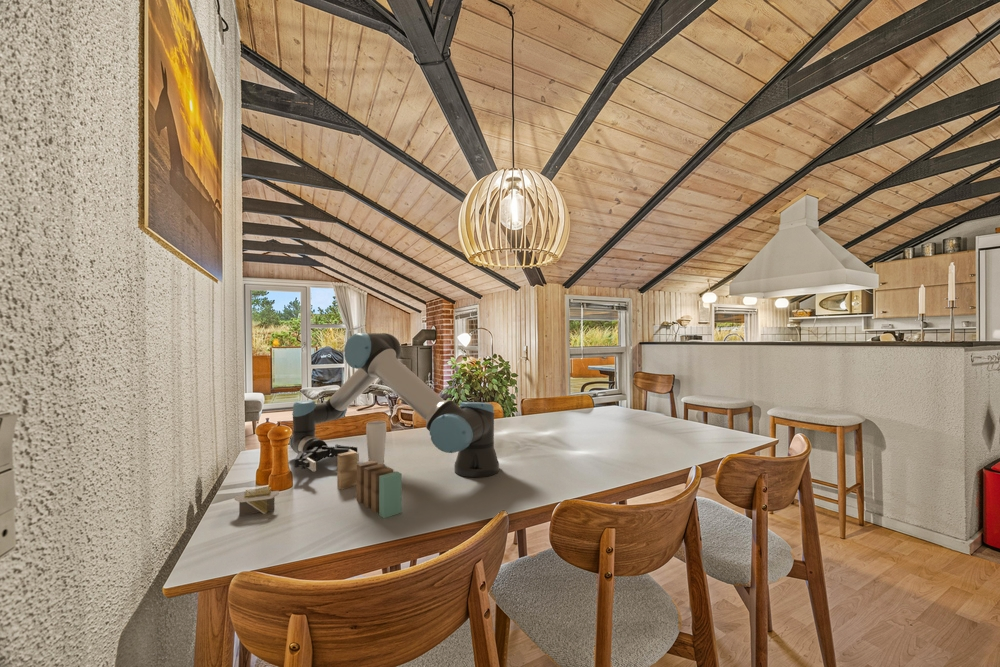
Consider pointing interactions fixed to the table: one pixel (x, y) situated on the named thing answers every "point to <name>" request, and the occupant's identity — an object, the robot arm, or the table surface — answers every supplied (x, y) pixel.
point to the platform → (256, 501)
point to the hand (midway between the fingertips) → (337, 462)
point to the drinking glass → (376, 440)
